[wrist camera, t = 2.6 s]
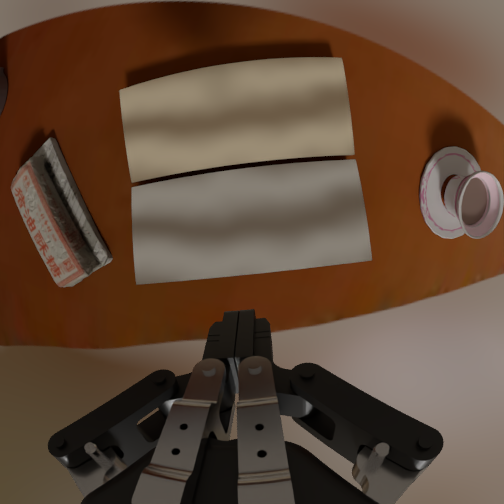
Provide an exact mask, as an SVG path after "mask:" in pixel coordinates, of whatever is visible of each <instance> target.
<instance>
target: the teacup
mask: <svg viewBox="0 0 504 504" xmlns="http://www.w3.org/2000/svg"><path fill="white" fill-rule="evenodd" d="M454 174H455V175H457V176H455V177H453V178H452V179H451V180H450V181H449V182H448V184H447V186H446V189H445V194H444V202H445V206H446V208H445V206H444V205H443V203H442V200H441V188H442V185H443V182H444V181H445V179H446V178H447V177H448V176H450V175H454ZM419 198H420V208H421V212H422V214H423V217H424V220H425V222H426V224H427V225H428V226H429V228H430V229H431V230H432V232H434V233H436V234H437V235H439V236H441V237H442V238H451V239H453V238H456V237H459V236H462V235H463V234H464V233H466V234H467V235H468V236H470V237H472V238H476V239H479V238H483V237H485V236H487V235H488V234H490V233H491V232H492V231H493V230H494V229H495V227H496V226H497V224H498V222H499V220H500V218H501V215H502V211H503V203H504V199H503V192H502V188H501V185H500V183H499V182H498V180H497V179H496V177H495V176H494V175H492V174H491V173H489V172H486V171H481V169H480V167H479V165H478V163H477V161H476V160H475V158H474V157H473V156H472V155H471V154H470V153H469V152H468V151H466V150H465V149H462V148H459V147H456V146H452V147H445V148H443V149H441V150H440V151H438V152H436V153H435V154H434V155H433V156H432V158H431V159H430V160H429V162H428V163H427V164H426V167H425V170H424V172H423V175H422V177H421V183H420V191H419Z"/></svg>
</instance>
